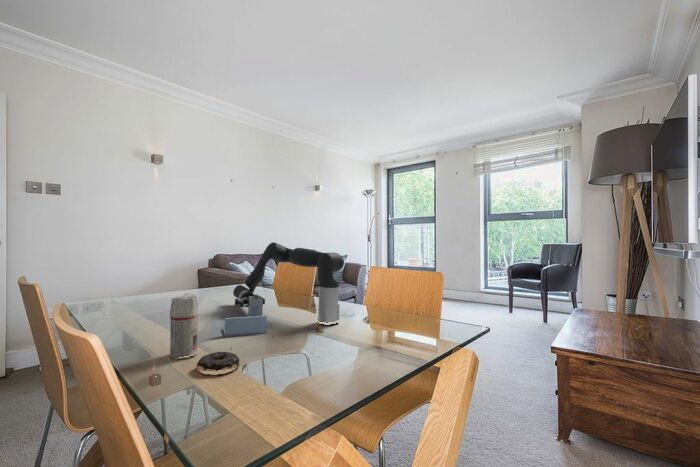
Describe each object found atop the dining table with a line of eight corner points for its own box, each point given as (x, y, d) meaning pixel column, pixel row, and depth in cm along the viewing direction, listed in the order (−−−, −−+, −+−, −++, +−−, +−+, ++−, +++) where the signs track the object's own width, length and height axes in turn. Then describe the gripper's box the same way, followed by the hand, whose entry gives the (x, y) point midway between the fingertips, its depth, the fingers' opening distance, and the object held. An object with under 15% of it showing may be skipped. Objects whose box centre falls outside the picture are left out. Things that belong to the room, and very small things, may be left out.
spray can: (185, 361, 103) (188, 297, 103) (162, 358, 105) (165, 295, 105) (202, 352, 111) (205, 293, 112) (181, 350, 113) (184, 291, 113)
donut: (209, 361, 105) (210, 348, 105) (245, 364, 103) (246, 351, 104) (189, 375, 94) (189, 361, 94) (229, 378, 92) (229, 364, 93)
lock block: (259, 321, 154) (260, 292, 155) (261, 325, 148) (263, 295, 148) (247, 322, 152) (249, 293, 153) (250, 326, 146) (251, 295, 146)
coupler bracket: (261, 326, 146) (262, 311, 146) (265, 332, 137) (266, 316, 137) (222, 329, 139) (223, 313, 139) (224, 336, 130) (225, 318, 130)
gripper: (233, 291, 171) (236, 296, 157) (261, 290, 177) (267, 295, 163) (232, 306, 171) (236, 312, 156) (260, 304, 177) (266, 311, 162)
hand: (252, 304), depth 159 cm, fingers open, 8 cm apart
